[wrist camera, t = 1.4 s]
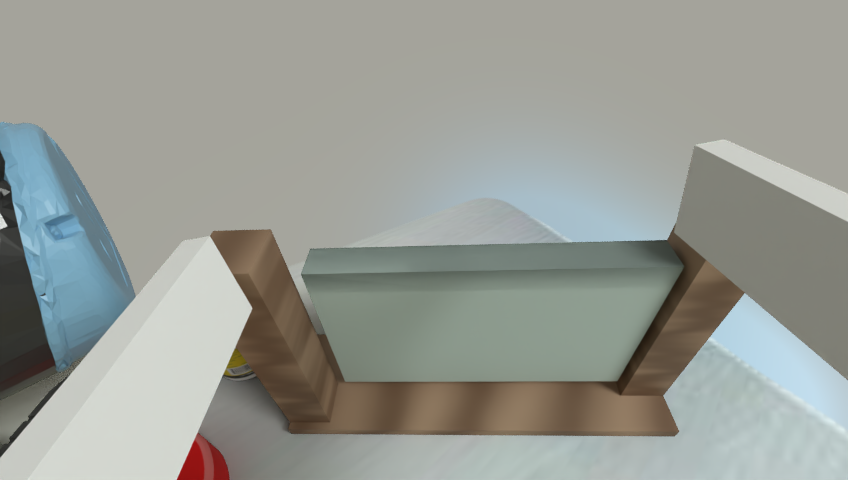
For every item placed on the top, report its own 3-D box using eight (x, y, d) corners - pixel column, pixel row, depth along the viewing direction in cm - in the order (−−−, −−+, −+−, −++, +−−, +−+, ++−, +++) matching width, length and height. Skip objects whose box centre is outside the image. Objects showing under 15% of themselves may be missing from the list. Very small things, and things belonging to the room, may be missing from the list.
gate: (345, 381, 28) (301, 274, 20) (349, 357, 30) (310, 248, 22) (617, 381, 27) (684, 266, 19) (608, 356, 29) (666, 240, 21)
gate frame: (291, 433, 28) (178, 283, 17) (317, 339, 34) (246, 181, 22) (674, 436, 26) (839, 270, 15) (631, 336, 32) (725, 164, 21)
